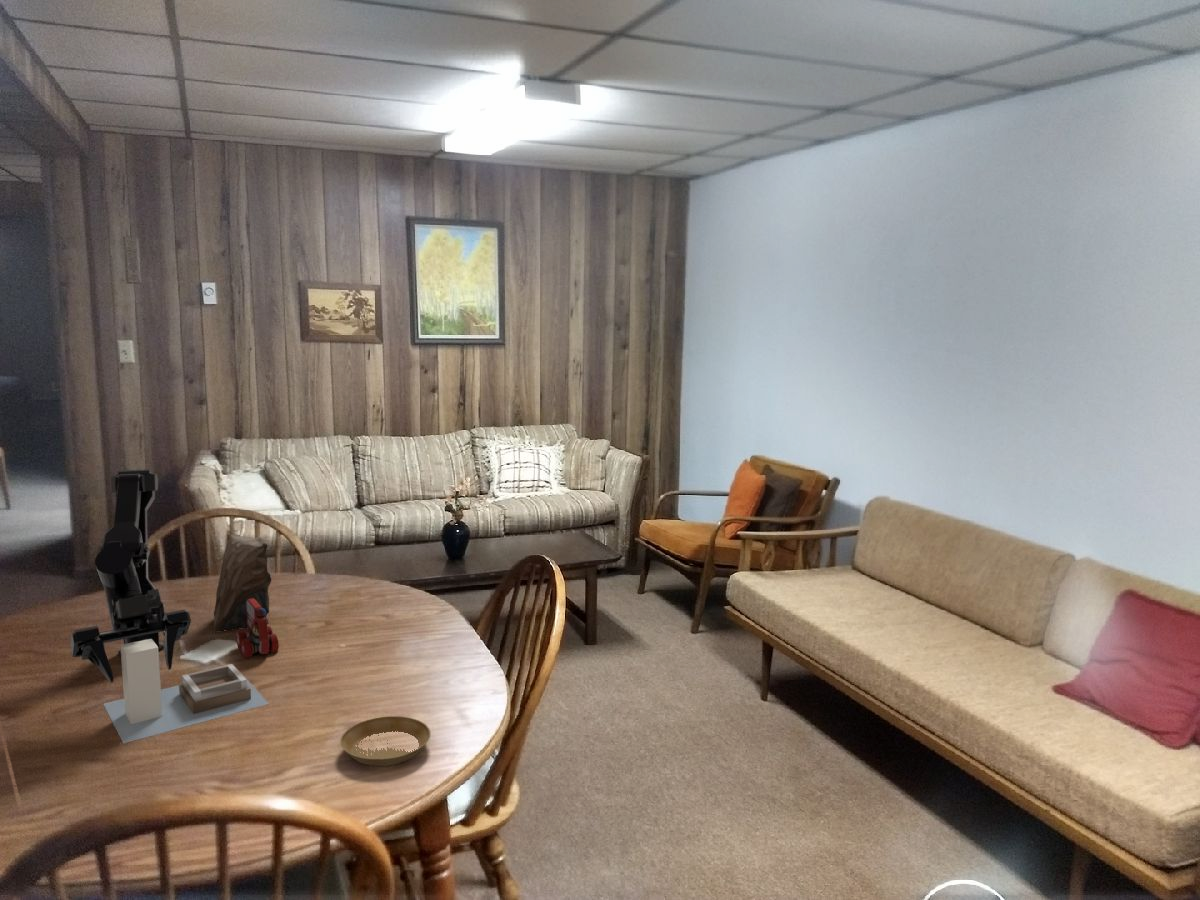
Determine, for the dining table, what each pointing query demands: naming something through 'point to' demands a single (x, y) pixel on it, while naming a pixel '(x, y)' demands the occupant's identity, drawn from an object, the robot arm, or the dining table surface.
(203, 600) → the dining table surface
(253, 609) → the toy fire truck
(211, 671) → the brown open tray
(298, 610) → the dining table surface
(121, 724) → the blue-gray board
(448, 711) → the dining table surface
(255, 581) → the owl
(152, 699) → the cream post
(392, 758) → the plant saucer
